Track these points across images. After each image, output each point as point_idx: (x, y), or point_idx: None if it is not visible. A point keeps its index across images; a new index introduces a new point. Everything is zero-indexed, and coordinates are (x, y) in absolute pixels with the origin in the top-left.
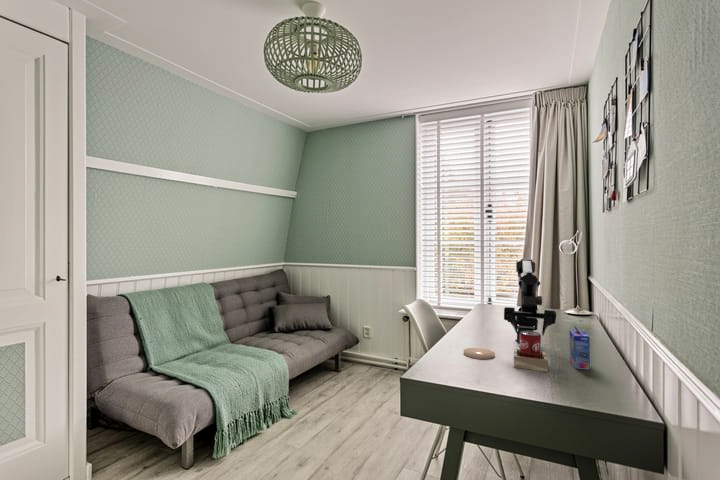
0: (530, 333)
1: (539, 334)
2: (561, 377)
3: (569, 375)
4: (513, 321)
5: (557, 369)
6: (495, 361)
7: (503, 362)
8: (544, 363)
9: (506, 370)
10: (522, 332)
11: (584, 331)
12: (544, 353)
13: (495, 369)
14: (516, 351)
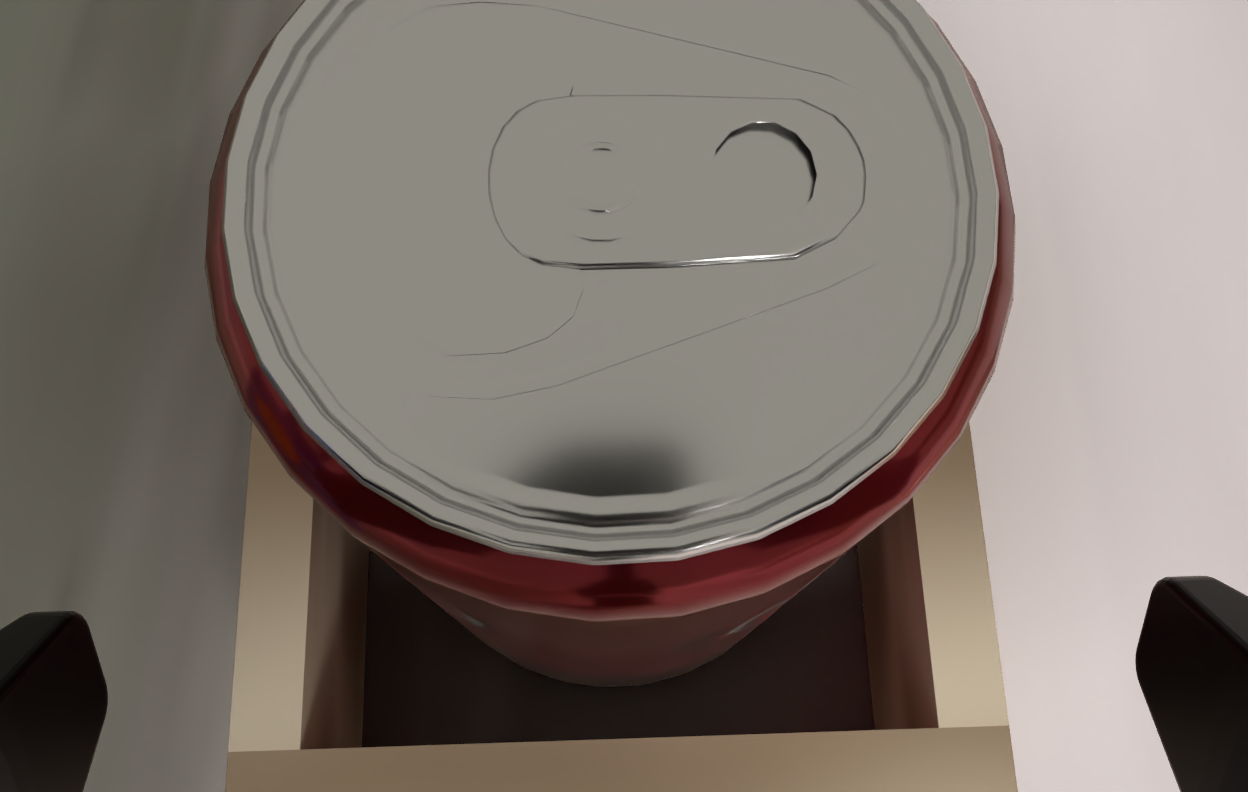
0: (610, 98)
1: (266, 56)
2: (160, 43)
3: (3, 185)
4: None
5: (132, 431)
6: (1238, 432)
7: (1090, 434)
8: None
9: (973, 26)
10: (926, 151)
11: None
12: (260, 652)
13: (1138, 5)
14: (926, 531)
